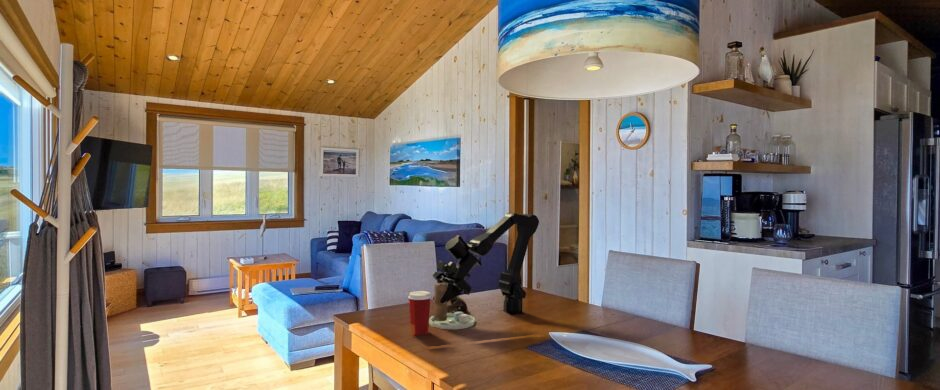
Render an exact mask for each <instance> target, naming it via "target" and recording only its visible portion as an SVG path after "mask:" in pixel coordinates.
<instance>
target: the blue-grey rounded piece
mask: <svg viewBox="0 0 940 390" xmlns="http://www.w3.org/2000/svg"><path fill="white" fill-rule="evenodd" d="M453 313H454V320H455V321H459V315H461V314H465V313H464V312H463V311H455V312H454V311H453Z"/></svg>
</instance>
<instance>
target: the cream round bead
mask: <svg viewBox="0 0 940 390" xmlns="http://www.w3.org/2000/svg"><path fill="white" fill-rule="evenodd" d="M469 315H470V314H468V313H466V314H465V313H464V314H461V315H459V323H461V324H466V323H469Z"/></svg>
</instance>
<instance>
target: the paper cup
mask: <svg viewBox="0 0 940 390" xmlns="http://www.w3.org/2000/svg"><path fill="white" fill-rule="evenodd" d="M407 298H408V299H409V300H408V301H409V304H408V305H409V323H410V335H411V337H413V338H416V336H426V335H427V334H428V333H429V328H430V326H429V325H430V324H429V319H430V309H431V298H432V295H431V292H430V291H426V290H425V291H424V290H416V291H411V292H409V295H408V296H407Z"/></svg>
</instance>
